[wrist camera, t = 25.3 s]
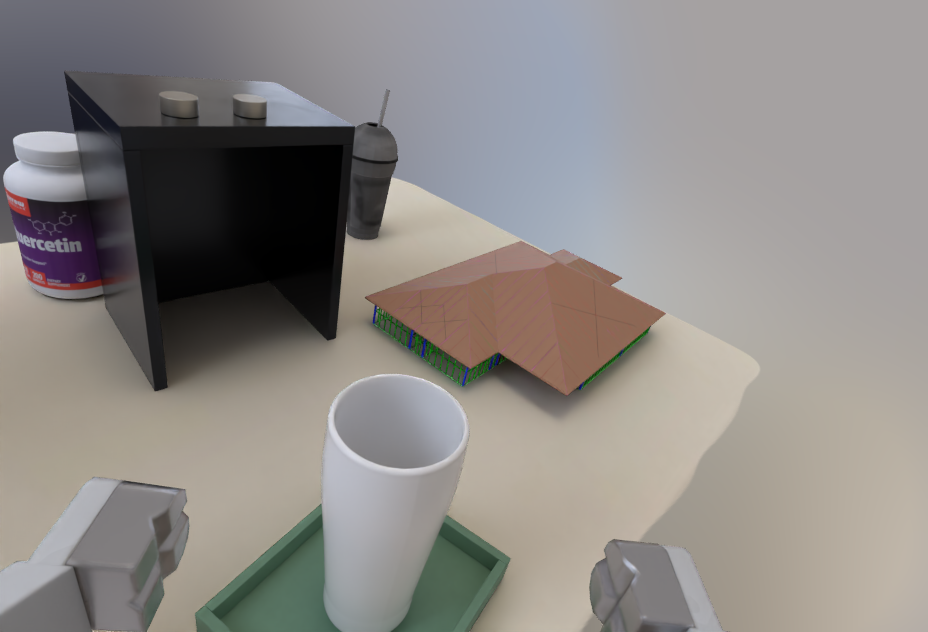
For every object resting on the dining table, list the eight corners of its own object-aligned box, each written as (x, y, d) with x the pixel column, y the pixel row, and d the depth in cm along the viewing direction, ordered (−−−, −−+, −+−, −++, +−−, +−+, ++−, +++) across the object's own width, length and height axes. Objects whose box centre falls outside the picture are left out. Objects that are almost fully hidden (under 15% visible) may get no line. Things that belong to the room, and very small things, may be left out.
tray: (365, 798, 25) (369, 781, 24) (196, 634, 30) (194, 613, 28) (503, 576, 36) (510, 558, 35) (365, 481, 41) (368, 461, 40)
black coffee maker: (336, 338, 55) (357, 111, 43) (154, 391, 44) (117, 106, 32) (273, 275, 63) (276, 69, 51) (105, 307, 52) (60, 53, 40)
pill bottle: (8, 293, 51) (-36, 141, 43) (67, 257, 57) (39, 121, 50) (94, 311, 51) (65, 163, 43) (143, 273, 58) (126, 140, 50)
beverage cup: (336, 220, 80) (347, 77, 69) (384, 224, 82) (403, 87, 71) (337, 241, 74) (350, 89, 63) (390, 245, 76) (411, 99, 66)
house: (663, 327, 71) (688, 274, 67) (531, 442, 48) (558, 372, 44) (525, 256, 82) (539, 207, 78) (361, 322, 58) (369, 256, 54)
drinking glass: (385, 682, 29) (431, 501, 21) (285, 617, 31) (293, 428, 23) (440, 580, 34) (493, 407, 27) (352, 530, 36) (378, 354, 28)
